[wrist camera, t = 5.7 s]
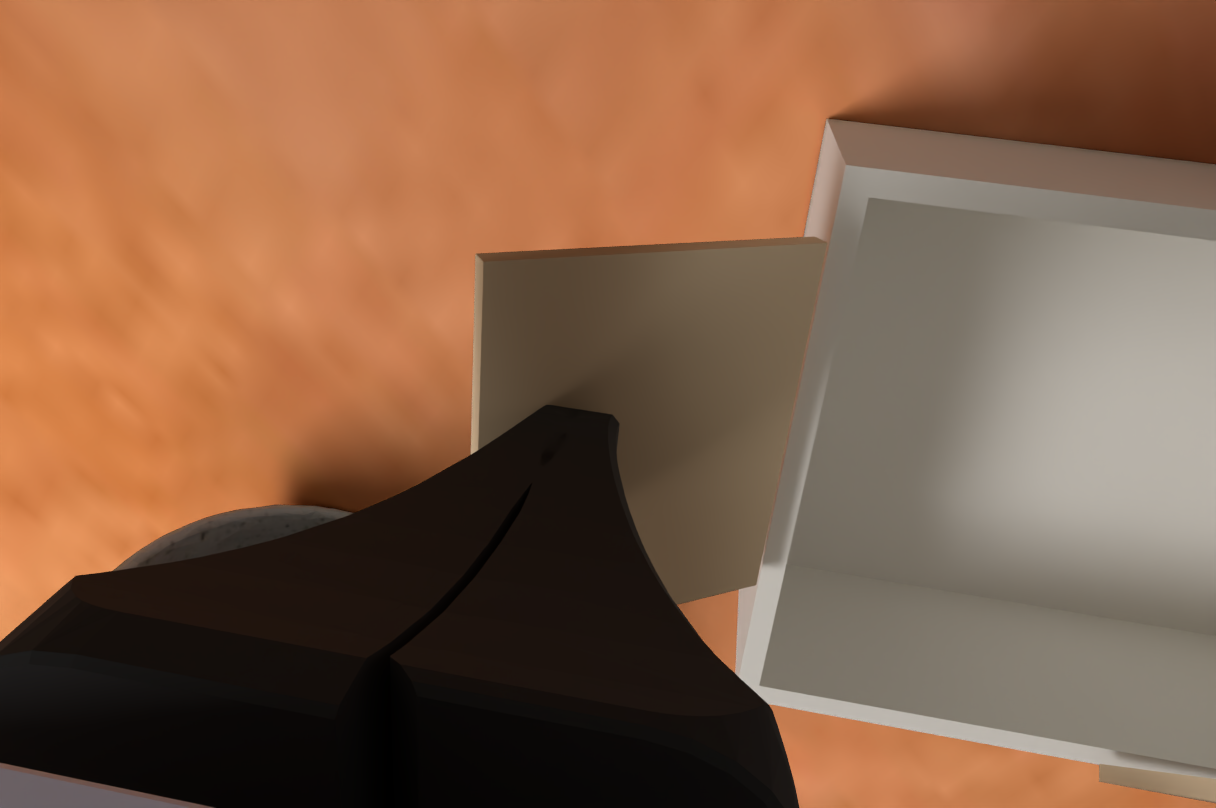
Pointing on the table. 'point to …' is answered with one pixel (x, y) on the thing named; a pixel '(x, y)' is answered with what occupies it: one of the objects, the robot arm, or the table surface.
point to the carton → (1001, 453)
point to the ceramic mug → (231, 532)
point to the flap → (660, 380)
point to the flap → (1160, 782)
